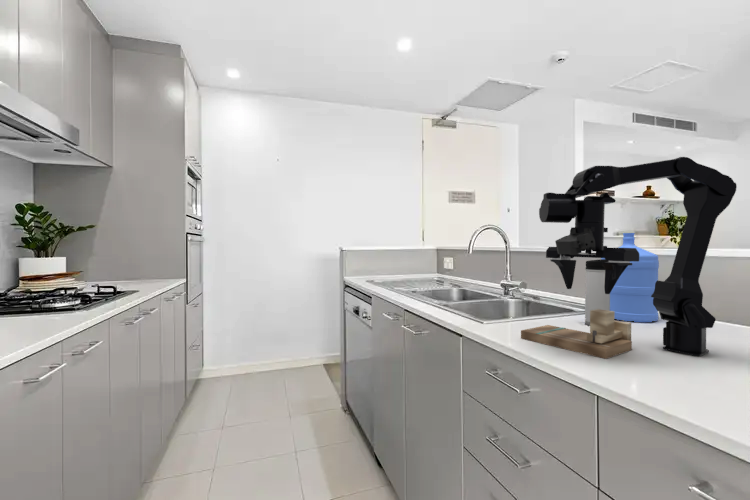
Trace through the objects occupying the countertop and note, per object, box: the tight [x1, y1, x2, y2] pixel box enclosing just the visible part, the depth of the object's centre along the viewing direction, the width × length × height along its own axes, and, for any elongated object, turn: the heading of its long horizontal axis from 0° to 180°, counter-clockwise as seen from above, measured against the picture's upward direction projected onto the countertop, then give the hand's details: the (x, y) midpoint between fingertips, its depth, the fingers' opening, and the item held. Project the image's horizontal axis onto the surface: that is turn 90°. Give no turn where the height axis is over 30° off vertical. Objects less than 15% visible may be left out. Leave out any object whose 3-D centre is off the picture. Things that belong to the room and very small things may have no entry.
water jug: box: [600, 232, 660, 323], centre depth 117 cm, size 16×16×28 cm
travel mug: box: [584, 258, 610, 327], centre depth 106 cm, size 6×7×20 cm
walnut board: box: [520, 324, 633, 360], centre depth 86 cm, size 20×12×2 cm, turn 33°
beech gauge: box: [587, 309, 632, 344], centre depth 82 cm, size 5×12×8 cm, turn 123°
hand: (587, 291), depth 82 cm, fingers open, 9 cm apart
